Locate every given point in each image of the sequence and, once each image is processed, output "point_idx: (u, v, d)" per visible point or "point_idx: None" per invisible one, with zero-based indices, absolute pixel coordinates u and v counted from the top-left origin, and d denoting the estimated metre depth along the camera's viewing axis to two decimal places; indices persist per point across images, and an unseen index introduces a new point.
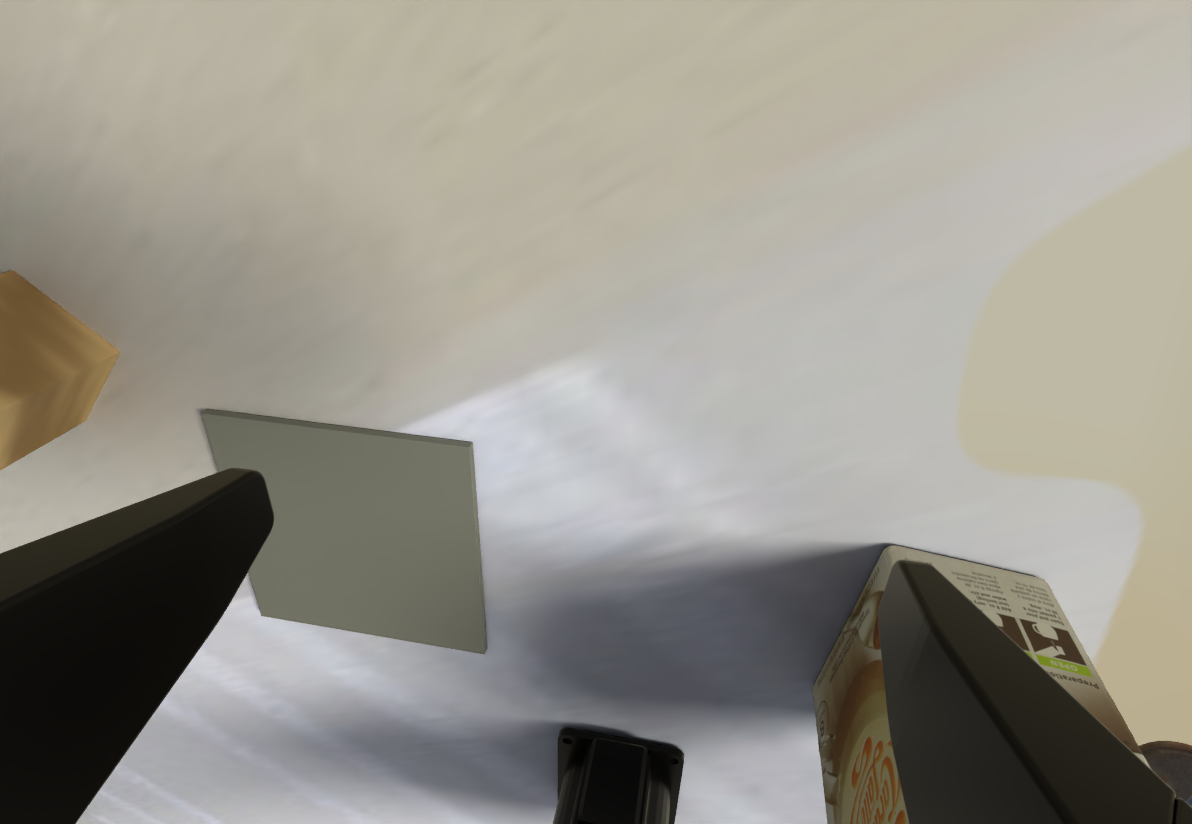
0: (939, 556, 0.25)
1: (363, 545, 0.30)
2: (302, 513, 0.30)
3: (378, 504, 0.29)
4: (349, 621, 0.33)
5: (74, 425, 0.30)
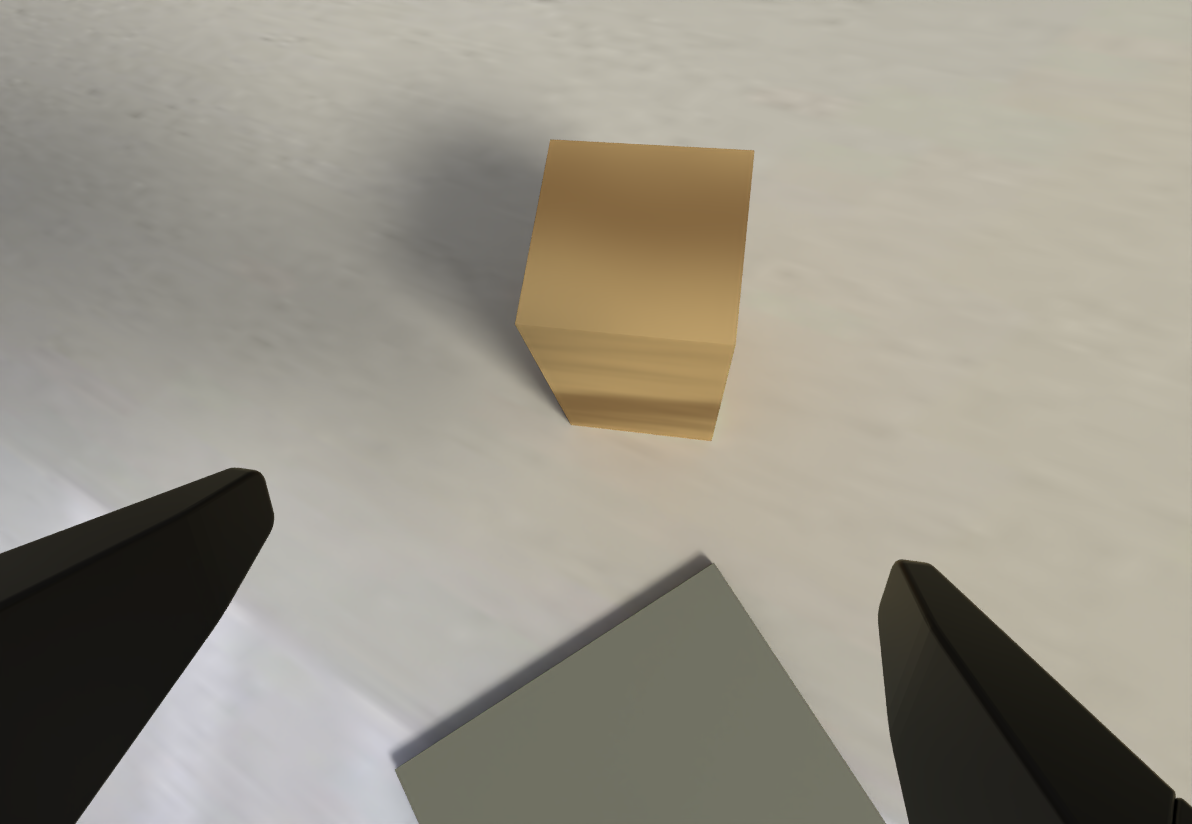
0: None
1: None
2: (654, 754, 0.20)
3: None
4: None
5: (574, 420, 0.23)
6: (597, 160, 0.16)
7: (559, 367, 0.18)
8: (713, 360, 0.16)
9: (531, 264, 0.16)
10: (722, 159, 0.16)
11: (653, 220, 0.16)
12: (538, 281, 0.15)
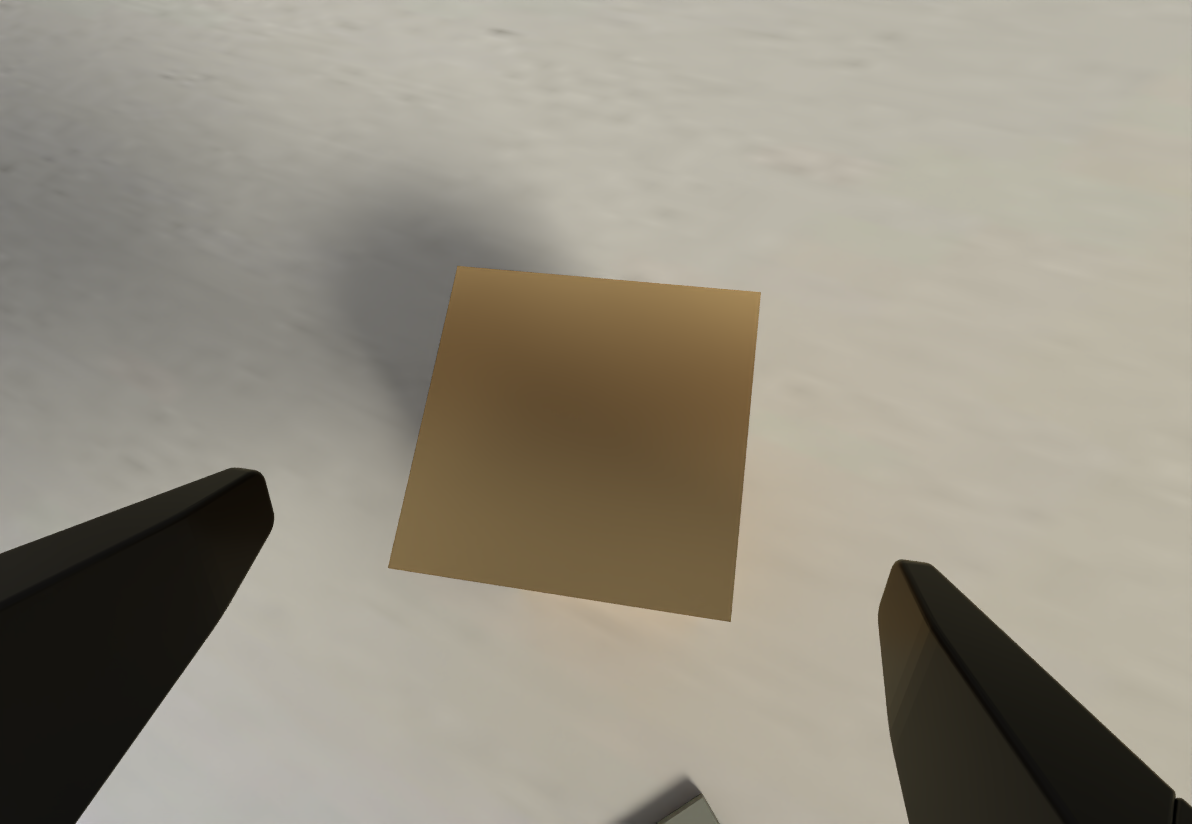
0: None
1: None
2: None
3: None
4: None
5: None
6: (525, 301, 0.11)
7: None
8: None
9: (418, 468, 0.10)
10: (712, 305, 0.10)
11: (606, 401, 0.10)
12: (427, 496, 0.10)
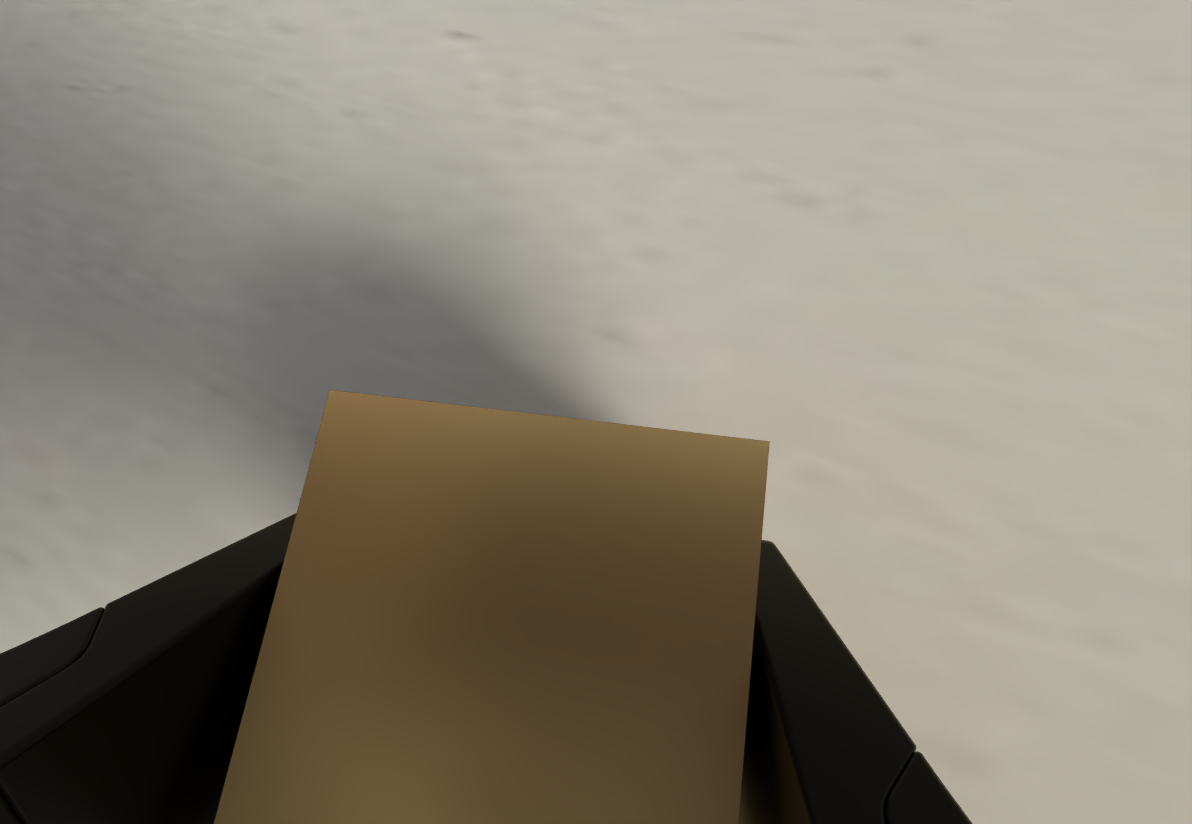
0: None
1: None
2: None
3: None
4: None
5: None
6: (423, 446, 0.07)
7: None
8: None
9: (253, 713, 0.07)
10: (698, 461, 0.07)
11: (536, 612, 0.07)
12: (264, 761, 0.07)
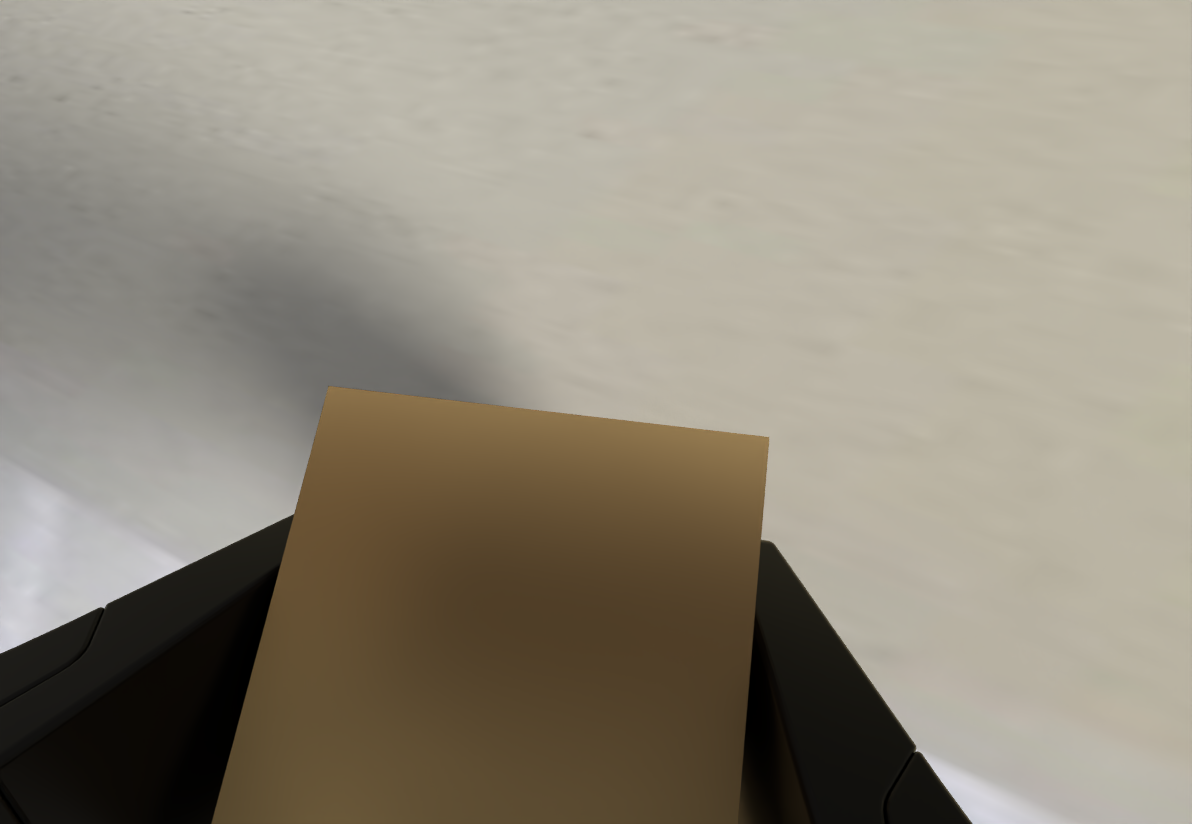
0: None
1: None
2: None
3: None
4: None
5: None
6: (422, 443, 0.07)
7: None
8: None
9: (252, 710, 0.07)
10: (698, 457, 0.07)
11: (535, 608, 0.07)
12: (263, 757, 0.07)
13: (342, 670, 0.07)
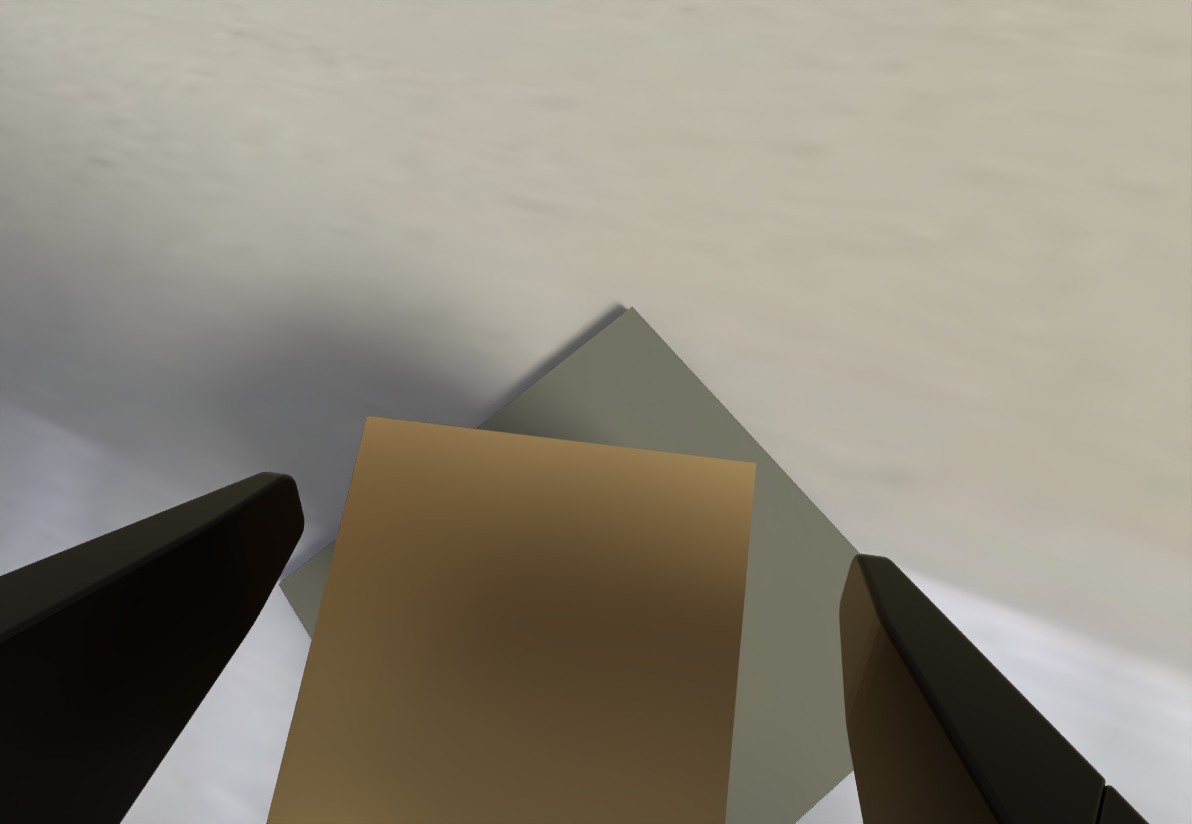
0: None
1: None
2: None
3: None
4: None
5: None
6: (451, 467, 0.08)
7: None
8: None
9: (305, 701, 0.08)
10: (693, 480, 0.08)
11: (552, 613, 0.08)
12: (316, 742, 0.08)
13: (384, 667, 0.08)
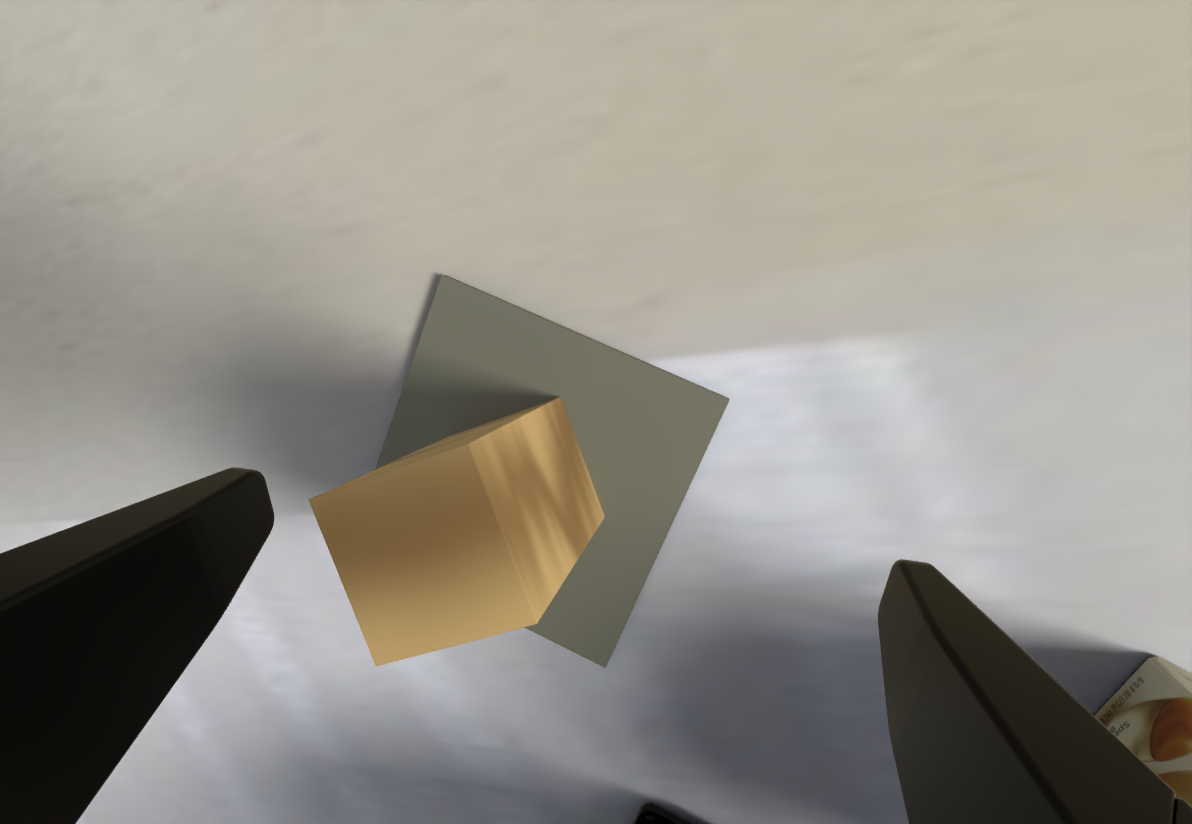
0: None
1: None
2: None
3: (584, 438, 0.26)
4: None
5: None
6: (354, 504, 0.18)
7: None
8: None
9: (359, 615, 0.18)
10: (447, 463, 0.17)
11: (424, 541, 0.18)
12: (372, 626, 0.18)
13: (378, 590, 0.18)
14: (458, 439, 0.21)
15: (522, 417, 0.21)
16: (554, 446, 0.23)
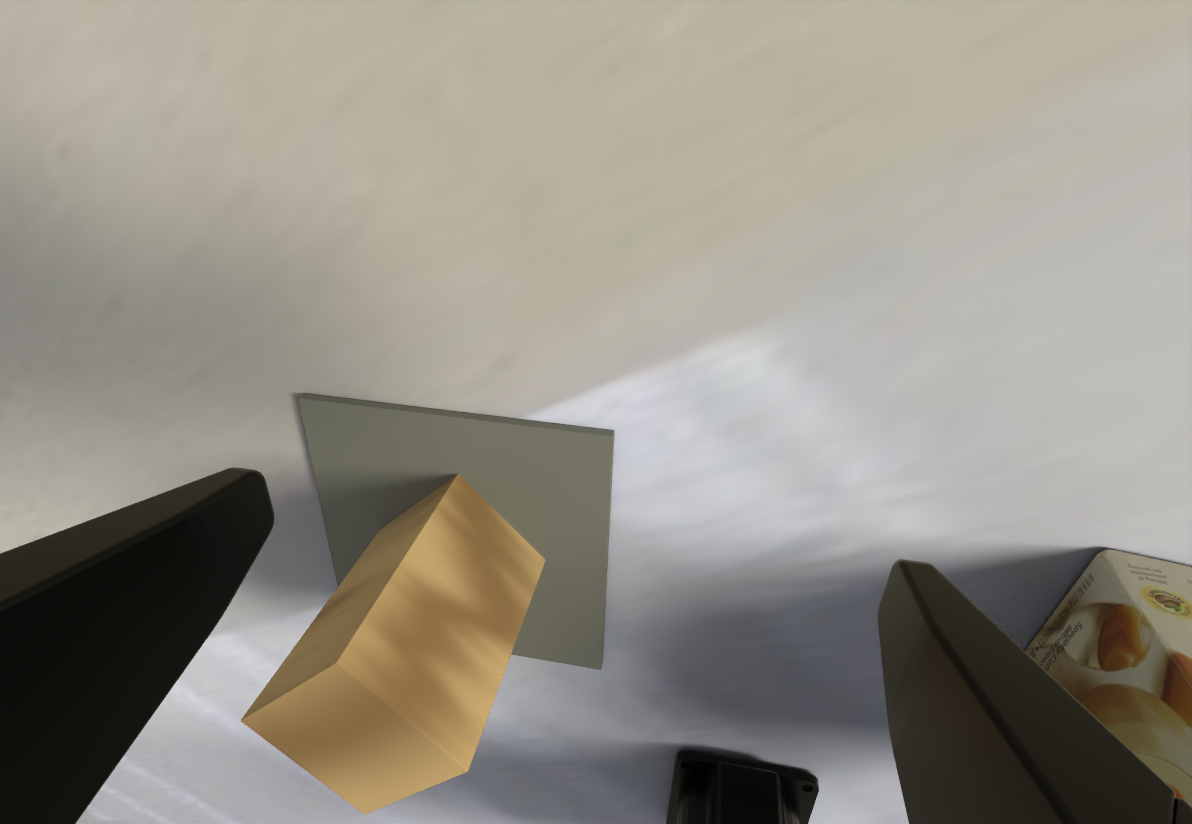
0: (1165, 562, 0.22)
1: None
2: None
3: (496, 501, 0.26)
4: None
5: None
6: (276, 718, 0.19)
7: None
8: None
9: (330, 787, 0.21)
10: (329, 679, 0.18)
11: (347, 733, 0.19)
12: (344, 791, 0.21)
13: (333, 769, 0.20)
14: (360, 590, 0.22)
15: (406, 555, 0.21)
16: (459, 544, 0.23)
